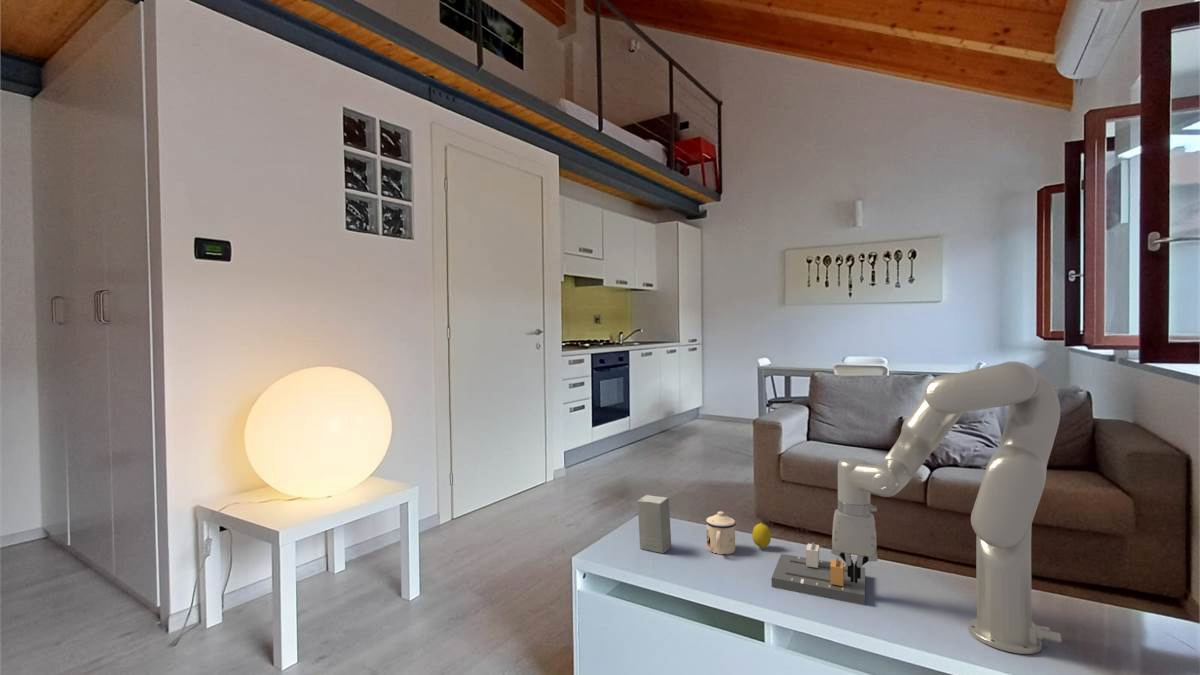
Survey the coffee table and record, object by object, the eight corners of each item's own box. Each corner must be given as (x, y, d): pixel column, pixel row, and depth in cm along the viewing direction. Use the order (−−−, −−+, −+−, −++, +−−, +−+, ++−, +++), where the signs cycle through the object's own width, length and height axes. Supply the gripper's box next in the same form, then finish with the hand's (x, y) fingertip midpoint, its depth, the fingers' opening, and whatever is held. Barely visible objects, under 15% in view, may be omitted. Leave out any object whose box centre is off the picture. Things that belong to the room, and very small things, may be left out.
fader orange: (844, 578, 138) (843, 558, 139) (843, 586, 134) (843, 565, 134) (831, 576, 140) (831, 556, 140) (830, 583, 135) (830, 563, 135)
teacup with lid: (708, 542, 171) (707, 506, 171) (737, 546, 168) (736, 509, 168) (702, 556, 160) (702, 517, 160) (733, 560, 157) (733, 521, 157)
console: (865, 576, 146) (865, 567, 146) (864, 605, 130) (864, 594, 130) (781, 561, 156) (781, 553, 156) (771, 587, 140) (771, 577, 140)
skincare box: (671, 547, 167) (671, 497, 167) (661, 555, 161) (661, 502, 161) (647, 542, 172) (647, 493, 172) (637, 549, 166) (637, 498, 166)
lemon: (768, 545, 169) (768, 520, 169) (772, 552, 163) (772, 526, 163) (750, 544, 169) (750, 519, 169) (754, 551, 164) (754, 525, 164)
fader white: (819, 561, 149) (819, 543, 150) (817, 567, 145) (817, 549, 145) (807, 559, 151) (807, 541, 151) (806, 565, 146) (806, 547, 146)
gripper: (886, 508, 135) (887, 580, 135) (823, 500, 142) (823, 569, 142) (887, 516, 129) (888, 593, 128) (821, 508, 135) (821, 580, 135)
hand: (854, 580), depth 135 cm, fingers closed
